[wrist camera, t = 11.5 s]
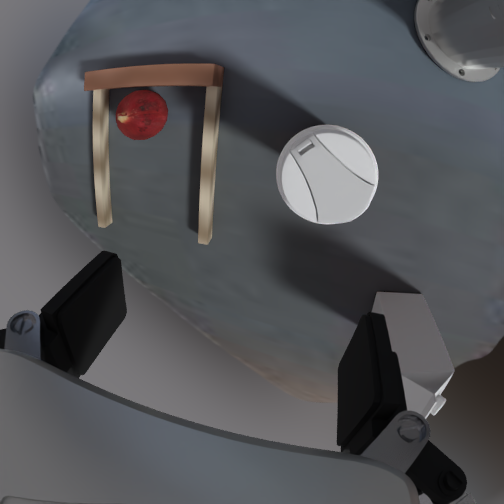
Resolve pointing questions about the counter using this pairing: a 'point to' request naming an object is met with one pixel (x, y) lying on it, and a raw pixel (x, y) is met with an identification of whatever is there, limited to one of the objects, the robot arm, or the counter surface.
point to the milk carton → (416, 349)
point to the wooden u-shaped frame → (146, 78)
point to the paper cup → (327, 174)
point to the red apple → (141, 114)
